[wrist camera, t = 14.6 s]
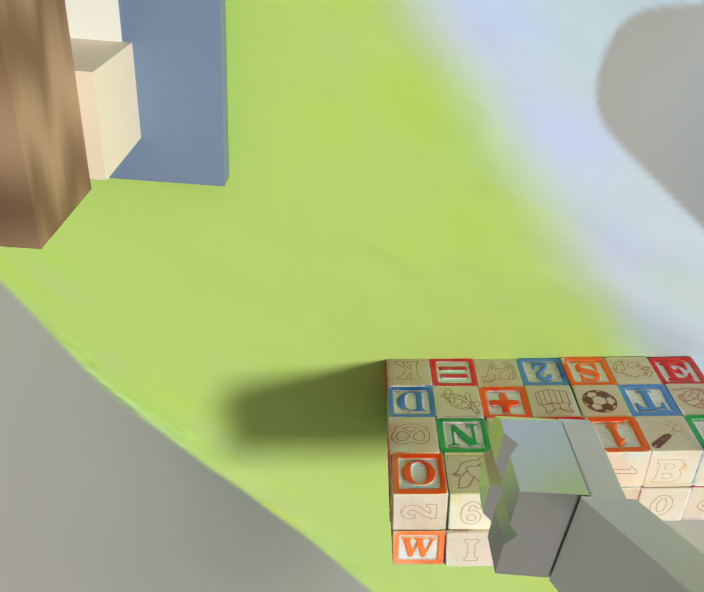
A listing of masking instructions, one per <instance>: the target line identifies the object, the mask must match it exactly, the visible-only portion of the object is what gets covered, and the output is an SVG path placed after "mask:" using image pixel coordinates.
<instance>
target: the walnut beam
mask: <svg viewBox="0 0 704 592" xmlns="http://www.w3.org/2000/svg"><path fill="white" fill-rule="evenodd" d="M90 190H91V183H90V176H89V169H88V162H87V154H86V147H85V140H84V133H83V126H82V119H81V112H80V105H79V97H78V90H77V83H76V76H75V69H74V62H73V55H72V48H71V40H70V33H69V26H68V19H67V12H66V5H65V0H0V246H4V247H19V248H33V249H42V248H43V246H44V245H45V244H46V243H47V242H48V240H49V239H50V238H51V237H52V236H53V234H54V233H55V232H56V231H57V230H58V228H59V227H60V226H61V225H62V224H63V222H64V221H65V220H66V219H67V218H68V216H69V215H70V214H71V213H72V212H73V210H74V209H75V208H76V207H77V206H78V204H79V203H80V202H81V201H82V200H83V198H84V197H85V196H86V195H87V194H88V193H89V191H90Z"/></svg>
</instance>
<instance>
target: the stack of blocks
mask: <svg viewBox="0 0 704 592" xmlns="http://www.w3.org/2000/svg"><path fill="white" fill-rule="evenodd" d="M386 396H387V444H388V476H389V508H390V522H391V536H392V556H393V563H394V564H442V563H445V564H446V565H447V566H493V560H492V556H491V551H490V546H489V541H488V537H487V536H488V533H489V529H490V525H491V521H490V520H489V519H488V518H487V517H486V516H485V514H484V513H483V511H482V506H481V501H480V490H479V481H480V468H481V463H482V459H483V454H485V453H486V452H487V451H488V450H490V449H491V448H492V447H491V443H490V438H489V431H490V427H491V423H492V421H493V419H494V418H495V416H507V417H526V418H545V419H556V420H557V419H577V420H589V421H590V422H591V423H593V424H594V426H595V429H596V431H597V433H598V435H599V437H600V440H601V442H602V444H603V446H604V449H605V451H606V453H607V455H608V458H609V460H610V462H611V464H612V467H613V469H614V471H615V473H616V476H617V478H618V480H619V482H620V485H621V487H622V489H623V491H624V494H625V496H626V498H627V499H636V500H637V501H639V502H640V503H641V504H642V505H644V506H645V507H646V508H647V509H649V510H650V511H651V512H652V513H654V514H655V515H656V516H657V517H659V518H660V519H661V520H680V519H704V375H703V374H702V372H701V371H700V369H699V368H698V366H697V365H696V363H695V362H694V360H693V359H692V358H691V357H656V358H651V357H650V358H646V357H644V356H643V357H605V358H602V357H562V358H560V359H559V358H526V359H525V358H519V359H476V360H474V359H388V360H386Z"/></svg>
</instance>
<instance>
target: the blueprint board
mask: <svg viewBox="0 0 704 592" xmlns="http://www.w3.org/2000/svg"><path fill="white" fill-rule="evenodd" d="M65 5H66V12H67V19H68V26H69V33H70V40H71V48H72V55H73V62H74V69H75V76H76V83H77V90H78V97H79V105H80V112H81V119H82V126H83V133H84V140H85V147H86V154H87V162H88V169H89V176H90V179H95V180H107V179H108V178H119V179H132V180H146V181H159V182H173V183H186V184H200V185H213V186H225V184H226V182H227V180H228V177H229V160H228V114H227V68H226V23H225V0H65Z"/></svg>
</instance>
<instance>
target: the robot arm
mask: <svg viewBox="0 0 704 592" xmlns="http://www.w3.org/2000/svg"><path fill="white" fill-rule="evenodd" d="M489 438H490V443H491V447H492V448H491V449H490V450H488V451H487V452H486V453H485V454H483V459H482V463H481V468H480V481H479V490H480V501H481V506H482V511H483V513H484V514H485V516H486V517H487V518H488V519H489V520H490V521H491V525H490V529H489V533H488V536H487V537H488V541H489V546H490V551H491V556H492V560H493V565H494V570H495V573H498V574H511V575H524V576H537V577H549V578H550V582H551V583H552V584H553V585H554V586H555V588H556V589H557V590H558V591H559V592H704V554H703V553H702V552H701V551H700V550H698V549H697V548H696V547H695V546H693V545H692V544H691V543H689V542H688V541H687V540H686V539H685V538H683V537H682V536H681V535H680V534H678V533H677V532H676V531H675V530H673V529H672V528H671V527H670V526H669V525H667V524H666V523H665V522H664V521H662V520H661V519H660V518H659V517H657V516H656V515H655V514H654V513H652V512H651V511H650V510H649V509H647V508H646V507H645V506H644V505H642V504H641V503H640V502H639V501H637V500H636V499H627V498H626V496H625V494H624V491H623V489H622V487H621V485H620V482H619V480H618V478H617V476H616V473H615V471H614V469H613V467H612V464H611V462H610V460H609V458H608V455H607V453H606V451H605V449H604V446H603V444H602V442H601V440H600V437H599V435H598V433H597V431H596V429H595V426H594V424H593V423H591V422H590V421H589V420H577V419H557V420H556V419H545V418H526V417H507V416H495V418H494V419H493V421H492V423H491V427H490V431H489Z"/></svg>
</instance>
